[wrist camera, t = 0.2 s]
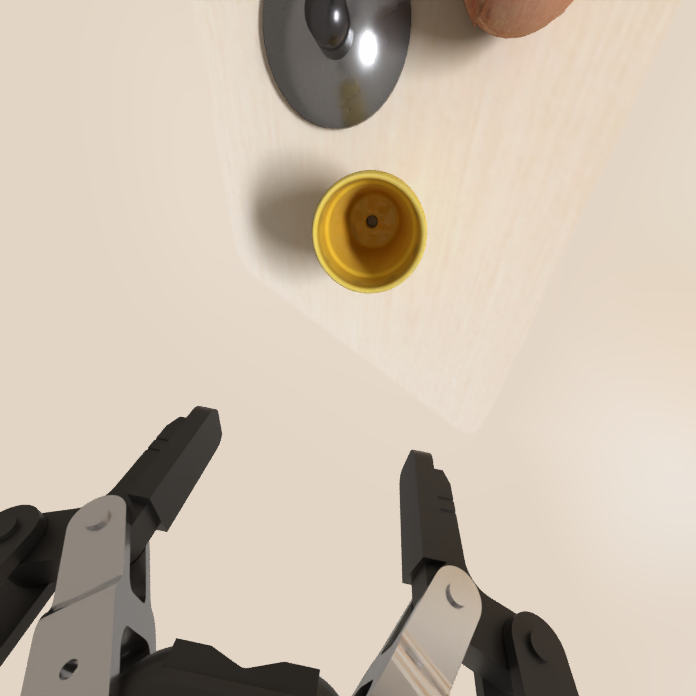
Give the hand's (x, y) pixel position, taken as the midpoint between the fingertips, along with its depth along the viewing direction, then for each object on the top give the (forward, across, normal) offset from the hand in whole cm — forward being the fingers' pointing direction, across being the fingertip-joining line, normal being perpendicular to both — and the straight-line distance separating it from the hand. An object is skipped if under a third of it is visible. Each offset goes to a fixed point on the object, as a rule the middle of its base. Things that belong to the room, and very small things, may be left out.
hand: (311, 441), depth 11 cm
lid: (+29, +6, -18) cm, 35 cm away
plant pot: (+29, 0, -4) cm, 29 cm away
